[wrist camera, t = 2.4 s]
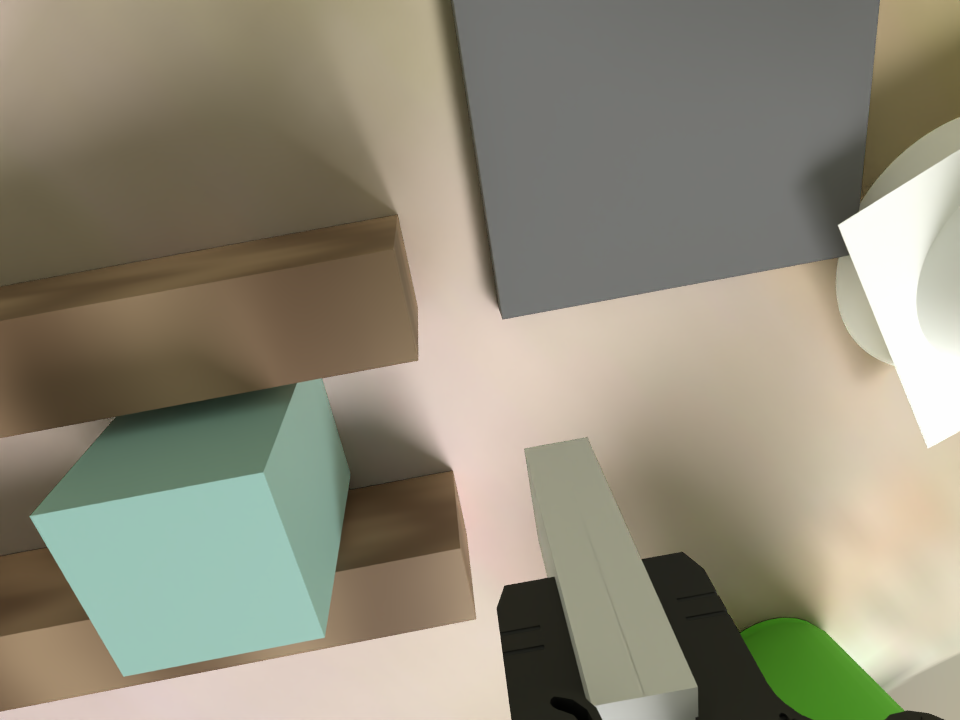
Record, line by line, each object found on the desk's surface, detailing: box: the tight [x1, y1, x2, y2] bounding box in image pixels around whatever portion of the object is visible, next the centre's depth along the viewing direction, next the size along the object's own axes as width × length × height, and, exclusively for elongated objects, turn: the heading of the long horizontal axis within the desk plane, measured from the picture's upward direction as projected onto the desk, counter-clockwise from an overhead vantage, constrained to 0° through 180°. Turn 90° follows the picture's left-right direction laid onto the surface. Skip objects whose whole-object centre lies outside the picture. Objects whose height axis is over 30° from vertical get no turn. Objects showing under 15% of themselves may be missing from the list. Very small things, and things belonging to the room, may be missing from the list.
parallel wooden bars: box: [0, 215, 476, 712], centre depth 19 cm, size 18×12×4 cm, turn 99°
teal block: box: [30, 378, 351, 677], centre depth 18 cm, size 5×5×7 cm
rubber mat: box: [451, 0, 880, 319], centre depth 17 cm, size 11×11×1 cm
